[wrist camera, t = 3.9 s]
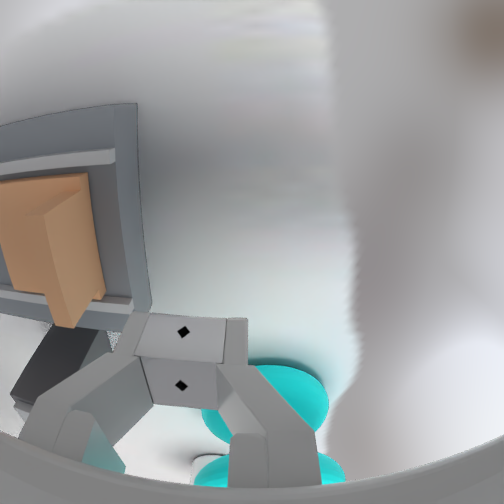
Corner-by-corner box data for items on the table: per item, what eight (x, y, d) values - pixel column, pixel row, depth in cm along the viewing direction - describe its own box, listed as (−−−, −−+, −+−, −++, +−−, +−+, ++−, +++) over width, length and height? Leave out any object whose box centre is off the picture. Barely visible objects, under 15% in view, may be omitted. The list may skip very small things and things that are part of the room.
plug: (115, 360, 22) (82, 452, 14) (73, 354, 21) (33, 436, 14) (103, 321, 20) (56, 418, 12) (58, 315, 20) (5, 401, 12)
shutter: (106, 291, 15) (77, 339, 11) (21, 282, 15) (-13, 320, 11) (87, 172, 12) (40, 198, 9) (-3, 181, 12) (-50, 206, 8)
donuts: (276, 526, 18) (165, 506, 15) (270, 436, 27) (181, 401, 24) (378, 491, 14) (260, 474, 11) (349, 385, 23) (255, 335, 20)
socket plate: (152, 303, 19) (137, 341, 16) (13, 288, 19) (-11, 316, 15) (137, 103, 14) (108, 104, 10) (-18, 132, 13) (-55, 143, 10)
